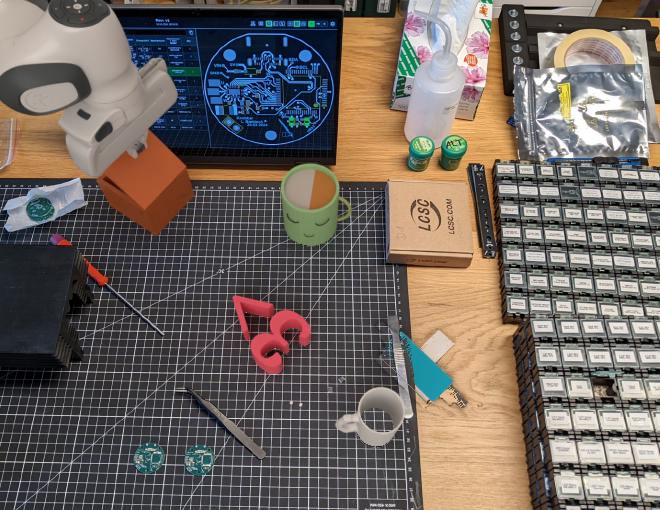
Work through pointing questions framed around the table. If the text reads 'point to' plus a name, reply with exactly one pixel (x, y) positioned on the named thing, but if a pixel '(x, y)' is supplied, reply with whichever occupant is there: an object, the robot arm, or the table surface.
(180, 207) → the parts case
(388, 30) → the table surface
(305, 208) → the mug
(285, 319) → the red number figure
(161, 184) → the case lid
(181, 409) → the table surface
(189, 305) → the table surface
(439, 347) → the phone stand
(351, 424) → the mug
